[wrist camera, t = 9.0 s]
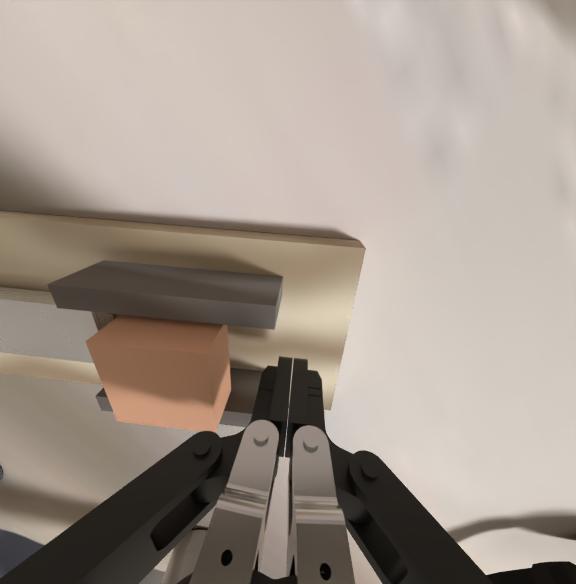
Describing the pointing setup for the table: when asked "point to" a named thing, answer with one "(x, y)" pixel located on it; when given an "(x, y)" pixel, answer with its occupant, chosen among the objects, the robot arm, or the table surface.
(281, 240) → the latch base
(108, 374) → the peach block
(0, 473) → the canister
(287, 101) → the table surface
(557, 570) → the headset
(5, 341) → the strap
